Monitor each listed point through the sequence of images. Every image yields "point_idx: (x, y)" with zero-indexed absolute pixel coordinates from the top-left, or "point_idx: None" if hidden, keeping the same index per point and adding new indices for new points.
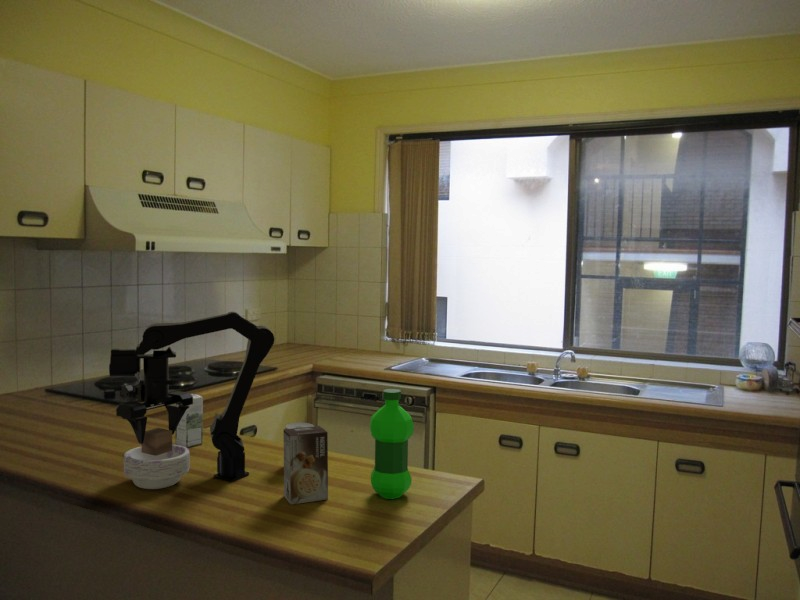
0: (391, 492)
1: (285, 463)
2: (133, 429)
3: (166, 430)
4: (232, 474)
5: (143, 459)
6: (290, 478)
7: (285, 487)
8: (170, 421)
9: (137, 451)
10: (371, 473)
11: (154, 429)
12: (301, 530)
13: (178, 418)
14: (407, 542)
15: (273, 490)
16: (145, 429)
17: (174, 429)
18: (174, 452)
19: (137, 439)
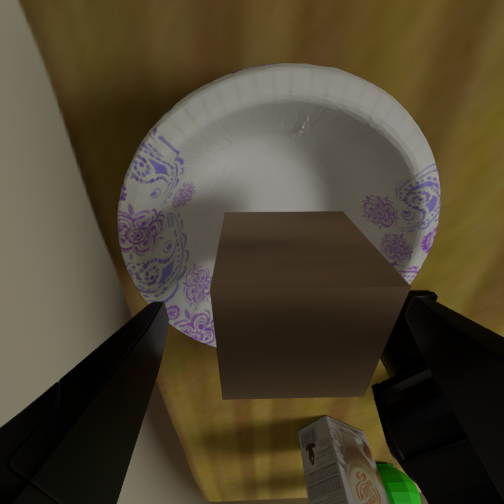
0: None
1: (332, 499)
2: (47, 394)
3: (350, 378)
4: None
5: (284, 133)
6: (306, 483)
7: (320, 440)
8: (499, 388)
9: (266, 112)
10: (391, 496)
11: (342, 305)
12: (237, 460)
13: (497, 480)
14: (269, 498)
15: (341, 397)
16: (129, 459)
17: (428, 358)
18: (383, 234)
19: (133, 319)
